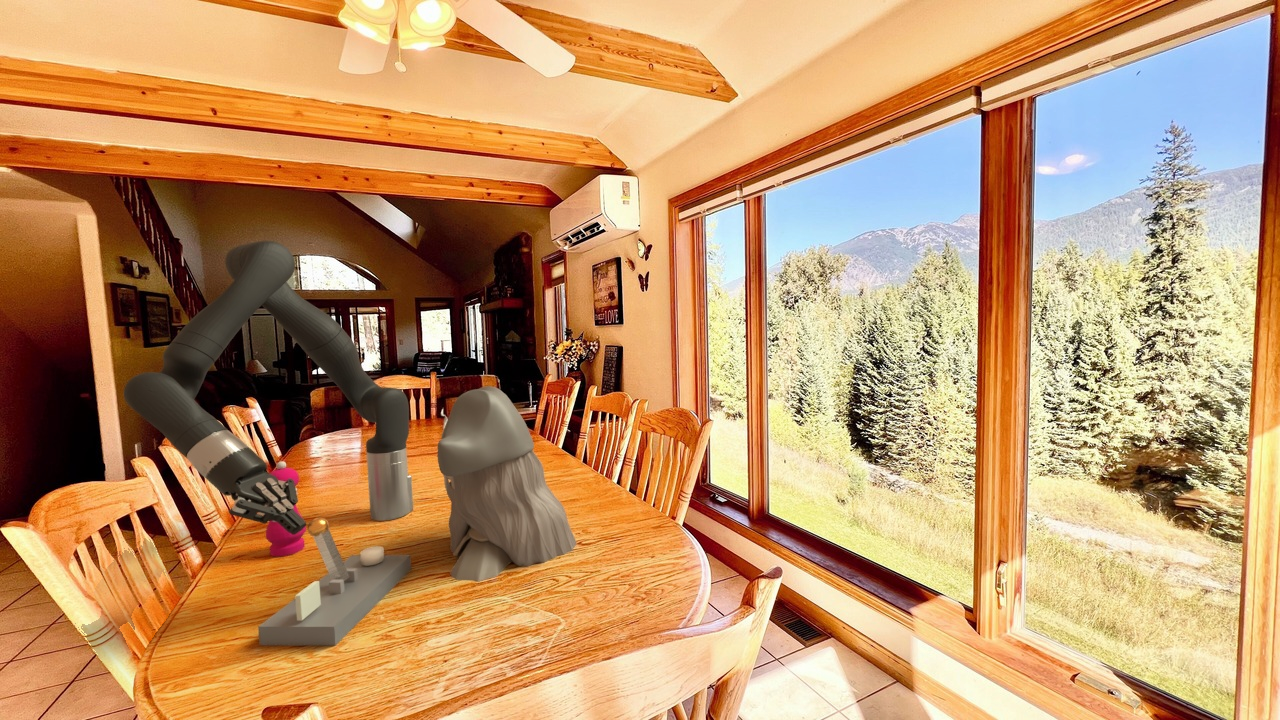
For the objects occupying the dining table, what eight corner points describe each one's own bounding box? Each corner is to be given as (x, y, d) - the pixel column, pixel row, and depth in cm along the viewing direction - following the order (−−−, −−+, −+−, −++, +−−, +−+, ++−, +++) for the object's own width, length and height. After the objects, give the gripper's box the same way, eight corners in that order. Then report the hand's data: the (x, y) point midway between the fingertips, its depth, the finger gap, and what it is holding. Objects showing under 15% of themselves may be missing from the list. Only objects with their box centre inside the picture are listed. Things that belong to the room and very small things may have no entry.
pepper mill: (287, 559, 108) (280, 466, 106) (258, 556, 109) (251, 465, 108) (315, 544, 115) (309, 457, 113) (288, 542, 116) (281, 456, 115)
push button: (356, 565, 97) (355, 555, 97) (368, 556, 101) (367, 546, 101) (377, 565, 97) (376, 555, 97) (388, 555, 101) (387, 546, 101)
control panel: (259, 645, 78) (257, 614, 78) (352, 569, 102) (351, 545, 102) (335, 645, 78) (333, 614, 78) (411, 569, 102) (409, 545, 102)
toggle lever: (328, 588, 88) (300, 525, 88) (339, 579, 92) (312, 518, 91) (344, 582, 88) (316, 519, 88) (355, 573, 91) (328, 512, 91)
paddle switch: (297, 620, 79) (295, 595, 78) (316, 604, 83) (314, 581, 83) (302, 620, 79) (300, 595, 78) (320, 604, 83) (319, 581, 83)
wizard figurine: (471, 511, 133) (465, 378, 131) (596, 518, 127) (592, 379, 124) (383, 574, 100) (373, 398, 98) (546, 587, 94) (539, 400, 91)
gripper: (207, 457, 82) (286, 530, 83) (270, 438, 95) (338, 501, 96) (178, 489, 83) (257, 562, 83) (244, 466, 96) (312, 529, 96)
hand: (300, 529), depth 89 cm, fingers closed
